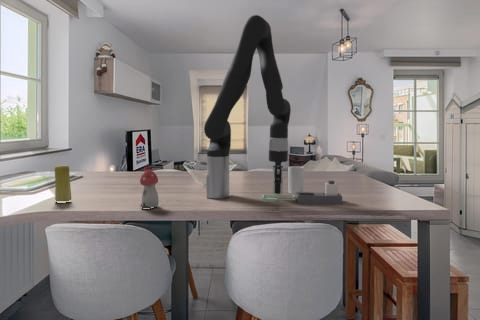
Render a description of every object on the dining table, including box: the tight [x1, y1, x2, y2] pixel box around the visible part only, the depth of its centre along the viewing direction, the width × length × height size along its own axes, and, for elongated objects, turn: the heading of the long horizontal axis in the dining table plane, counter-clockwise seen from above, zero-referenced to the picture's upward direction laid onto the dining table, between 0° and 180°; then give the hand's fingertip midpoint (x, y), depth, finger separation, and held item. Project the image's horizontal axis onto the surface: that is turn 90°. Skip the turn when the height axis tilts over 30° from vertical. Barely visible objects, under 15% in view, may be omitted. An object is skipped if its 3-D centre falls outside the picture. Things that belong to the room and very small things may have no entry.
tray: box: [261, 194, 297, 203], centre depth 157 cm, size 13×9×2 cm
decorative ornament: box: [139, 166, 160, 208], centre depth 145 cm, size 9×6×15 cm
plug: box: [271, 176, 284, 197], centre depth 157 cm, size 4×4×8 cm
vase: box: [54, 165, 73, 201], centre depth 156 cm, size 6×6×14 cm
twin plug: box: [324, 180, 339, 196], centre depth 148 cm, size 4×4×8 cm
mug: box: [287, 165, 305, 195], centre depth 171 cm, size 10×7×12 cm, turn 167°
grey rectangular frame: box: [296, 192, 343, 205], centre depth 149 cm, size 16×7×4 cm, turn 86°
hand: (277, 192), depth 157 cm, fingers closed on plug, 4 cm apart
